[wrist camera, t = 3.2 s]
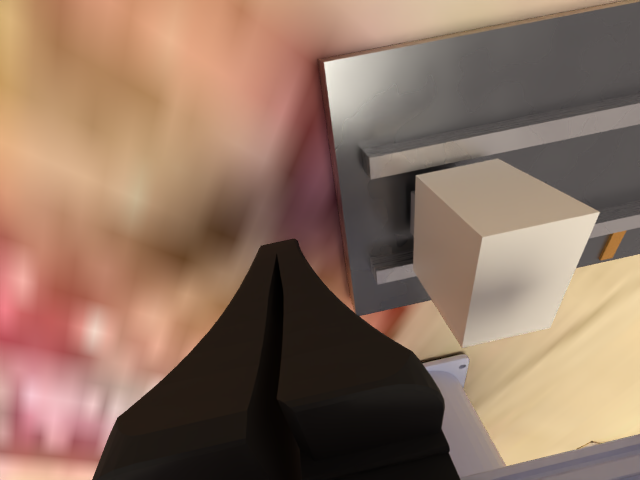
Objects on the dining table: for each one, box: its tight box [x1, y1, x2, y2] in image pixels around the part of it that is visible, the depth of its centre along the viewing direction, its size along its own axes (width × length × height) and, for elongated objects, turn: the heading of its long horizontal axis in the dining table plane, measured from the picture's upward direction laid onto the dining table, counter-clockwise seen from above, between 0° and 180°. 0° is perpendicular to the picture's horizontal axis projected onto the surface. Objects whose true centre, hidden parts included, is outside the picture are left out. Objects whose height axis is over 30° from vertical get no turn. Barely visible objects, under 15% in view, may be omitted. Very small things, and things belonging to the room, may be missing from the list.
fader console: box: [317, 0, 640, 316], centre depth 14 cm, size 12×24×2 cm, turn 99°
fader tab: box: [410, 158, 600, 348], centre depth 11 cm, size 4×3×5 cm
